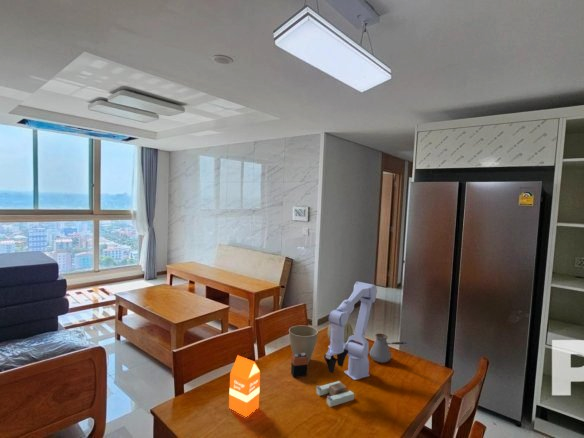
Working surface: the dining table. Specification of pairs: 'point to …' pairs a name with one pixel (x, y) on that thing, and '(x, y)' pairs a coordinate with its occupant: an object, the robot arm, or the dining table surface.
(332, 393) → the block
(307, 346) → the plant pot
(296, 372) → the battery
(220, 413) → the dining table surface
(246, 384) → the orange juice
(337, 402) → the rails
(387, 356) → the coffee pot
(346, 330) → the cantaloupe
